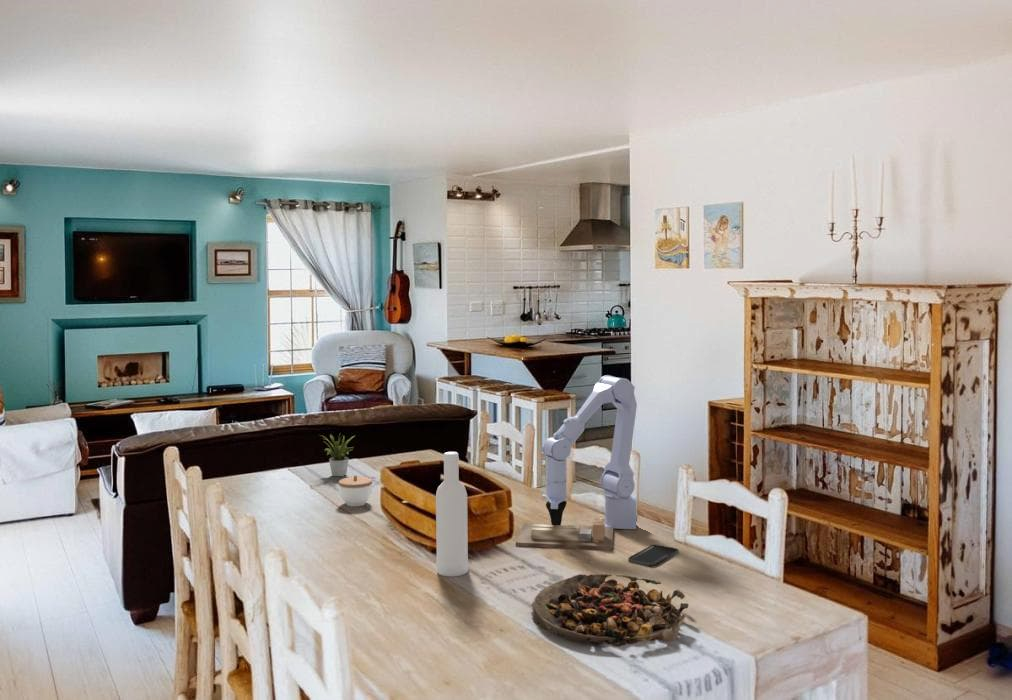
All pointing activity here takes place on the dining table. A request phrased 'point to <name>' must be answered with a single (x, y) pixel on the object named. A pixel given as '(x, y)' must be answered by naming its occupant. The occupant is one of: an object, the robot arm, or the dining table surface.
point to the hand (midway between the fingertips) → (556, 527)
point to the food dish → (607, 611)
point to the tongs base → (565, 543)
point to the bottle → (451, 521)
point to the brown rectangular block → (598, 529)
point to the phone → (653, 555)
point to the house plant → (338, 456)
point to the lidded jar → (355, 490)
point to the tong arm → (555, 526)
